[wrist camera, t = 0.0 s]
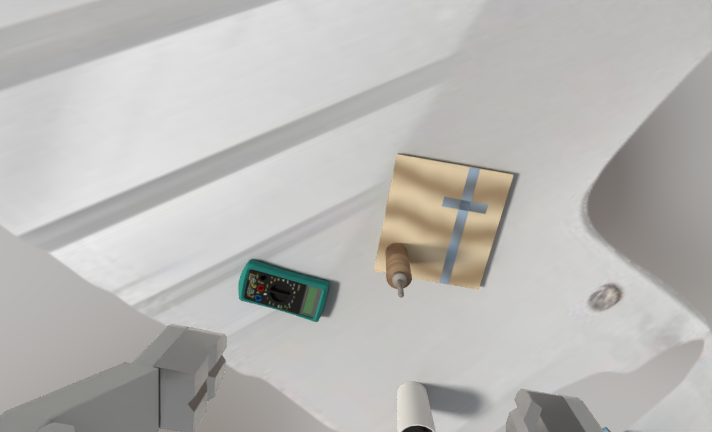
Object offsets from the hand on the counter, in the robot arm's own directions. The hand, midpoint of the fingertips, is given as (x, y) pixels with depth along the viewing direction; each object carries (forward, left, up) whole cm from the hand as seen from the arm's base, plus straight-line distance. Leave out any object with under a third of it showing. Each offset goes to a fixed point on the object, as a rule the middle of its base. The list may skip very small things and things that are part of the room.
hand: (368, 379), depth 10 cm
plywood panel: (+9, +12, -48) cm, 50 cm away
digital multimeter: (+26, -12, -49) cm, 57 cm away
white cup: (+44, +15, -48) cm, 67 cm away
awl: (+15, +6, -47) cm, 50 cm away
